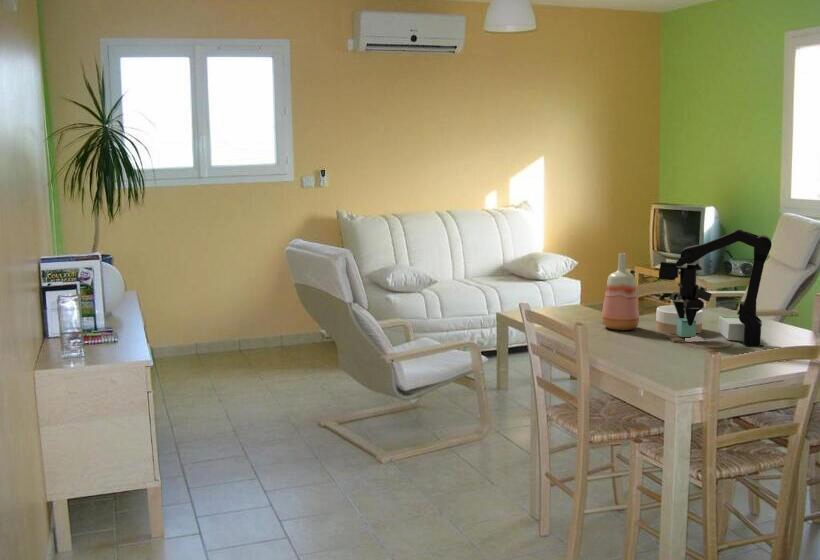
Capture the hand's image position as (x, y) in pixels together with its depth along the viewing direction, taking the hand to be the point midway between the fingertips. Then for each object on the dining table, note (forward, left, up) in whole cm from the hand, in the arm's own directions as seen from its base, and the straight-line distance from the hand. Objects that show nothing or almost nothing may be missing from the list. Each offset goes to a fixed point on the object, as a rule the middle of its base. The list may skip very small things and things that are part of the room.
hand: (685, 323), depth 326 cm
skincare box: (+12, -21, -3) cm, 24 cm away
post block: (0, 0, -6) cm, 6 cm away
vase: (+21, +19, -6) cm, 29 cm away
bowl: (+17, -3, -7) cm, 18 cm away
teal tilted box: (0, 0, -5) cm, 5 cm away
